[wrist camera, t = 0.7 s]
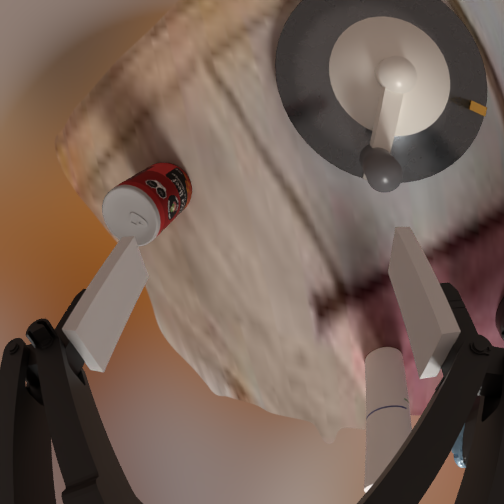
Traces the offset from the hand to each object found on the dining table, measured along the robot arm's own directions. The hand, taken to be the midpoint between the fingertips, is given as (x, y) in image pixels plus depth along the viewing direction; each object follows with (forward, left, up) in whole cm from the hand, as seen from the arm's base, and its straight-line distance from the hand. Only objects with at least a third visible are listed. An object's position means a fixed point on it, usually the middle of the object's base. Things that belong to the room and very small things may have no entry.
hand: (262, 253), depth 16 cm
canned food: (+17, +9, -26) cm, 33 cm away
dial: (-9, -9, -24) cm, 27 cm away
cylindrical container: (-23, +33, -26) cm, 48 cm away
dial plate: (-9, -11, -26) cm, 30 cm away
